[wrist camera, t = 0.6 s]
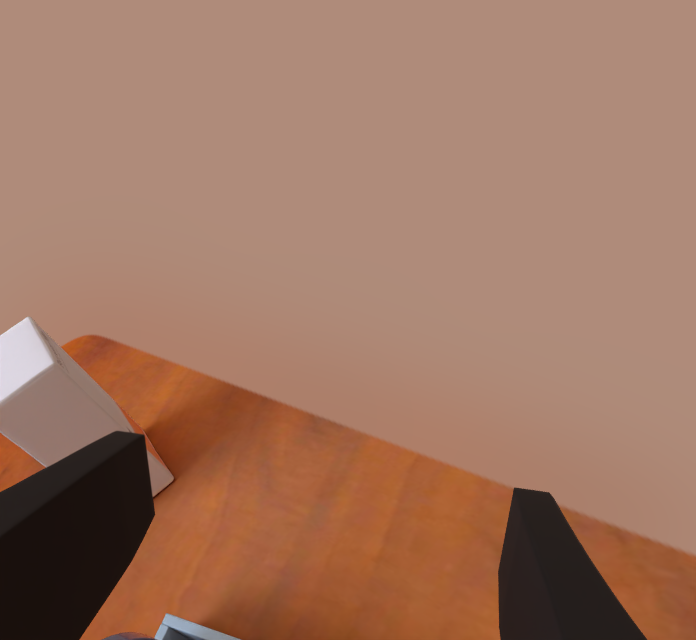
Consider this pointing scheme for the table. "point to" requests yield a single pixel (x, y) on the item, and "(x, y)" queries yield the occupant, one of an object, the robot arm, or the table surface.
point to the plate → (129, 636)
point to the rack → (187, 630)
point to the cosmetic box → (58, 402)
